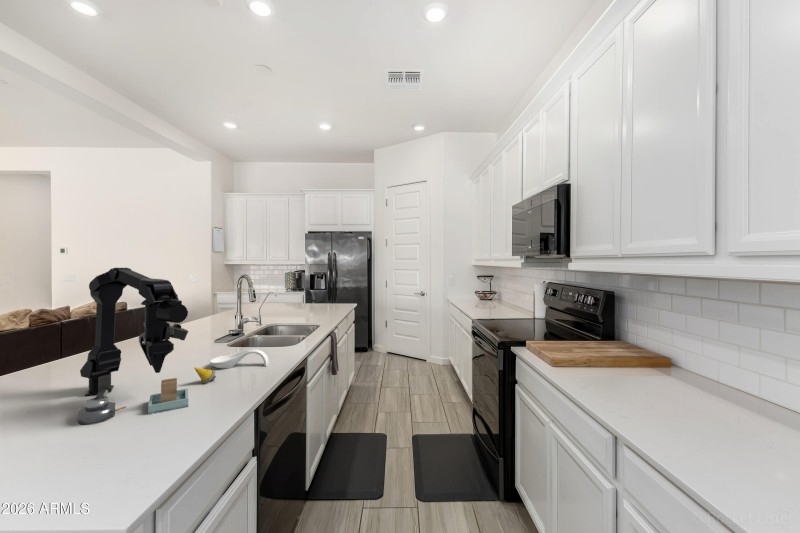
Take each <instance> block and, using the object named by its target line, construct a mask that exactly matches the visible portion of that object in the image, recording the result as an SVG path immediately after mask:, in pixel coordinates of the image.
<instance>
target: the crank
mask: <svg viewBox="0 0 800 533" xmlns="http://www.w3.org/2000/svg"><path fill="white" fill-rule="evenodd" d="M111 385H112V374H111V375H104V376H100V377H98V391H99V392H98V394H96V396H95V397H93V398H89V399H87V400H86V401H85V402H84V407H85V410H86V411H93V410H98V409H102V408H104V407H107V406H108V405H109V402H110V401H109V399H110V398H109V397H108V396H107V394H108V393H109V392H108V390H110V389H111Z"/></svg>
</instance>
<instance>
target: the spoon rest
mask: <svg viewBox="0 0 800 533" xmlns="http://www.w3.org/2000/svg"><path fill="white" fill-rule="evenodd" d="M249 354H256V355H258V356H260V357H261V358H262V360H263V366H264V367H267V366H268V365H269V363H270V360H269V357H268V355H267V354H266V352H264V351H263V350H260V349H257V348H252V349H247V350H244V351H240V352H236V353H232V354H225V355H221V356H217V357H214V358H212V359H211V360H210V361H209V364H210V365H211V366H213V367H215V368H217V369H221V370H222V369H231V368H234V367H235V366H236V365H237V364H238V363H239V362H241V360H242V359H243V358H245V357H246V356H247V355H249Z"/></svg>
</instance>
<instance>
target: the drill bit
mask: <svg viewBox="0 0 800 533" xmlns="http://www.w3.org/2000/svg"><path fill="white" fill-rule="evenodd" d="M193 370H195V372H196V373H197V375H198V377H199V378H200V381H201V383H203V384H204V385H206V384H208V383H209V382H211V381H213V382H214V381H215V379H216V378H217V375H215V374H216V370H214V369H212V368H211V369H206V368H203V367H202V368H200V367H195V366H194V367H193Z"/></svg>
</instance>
